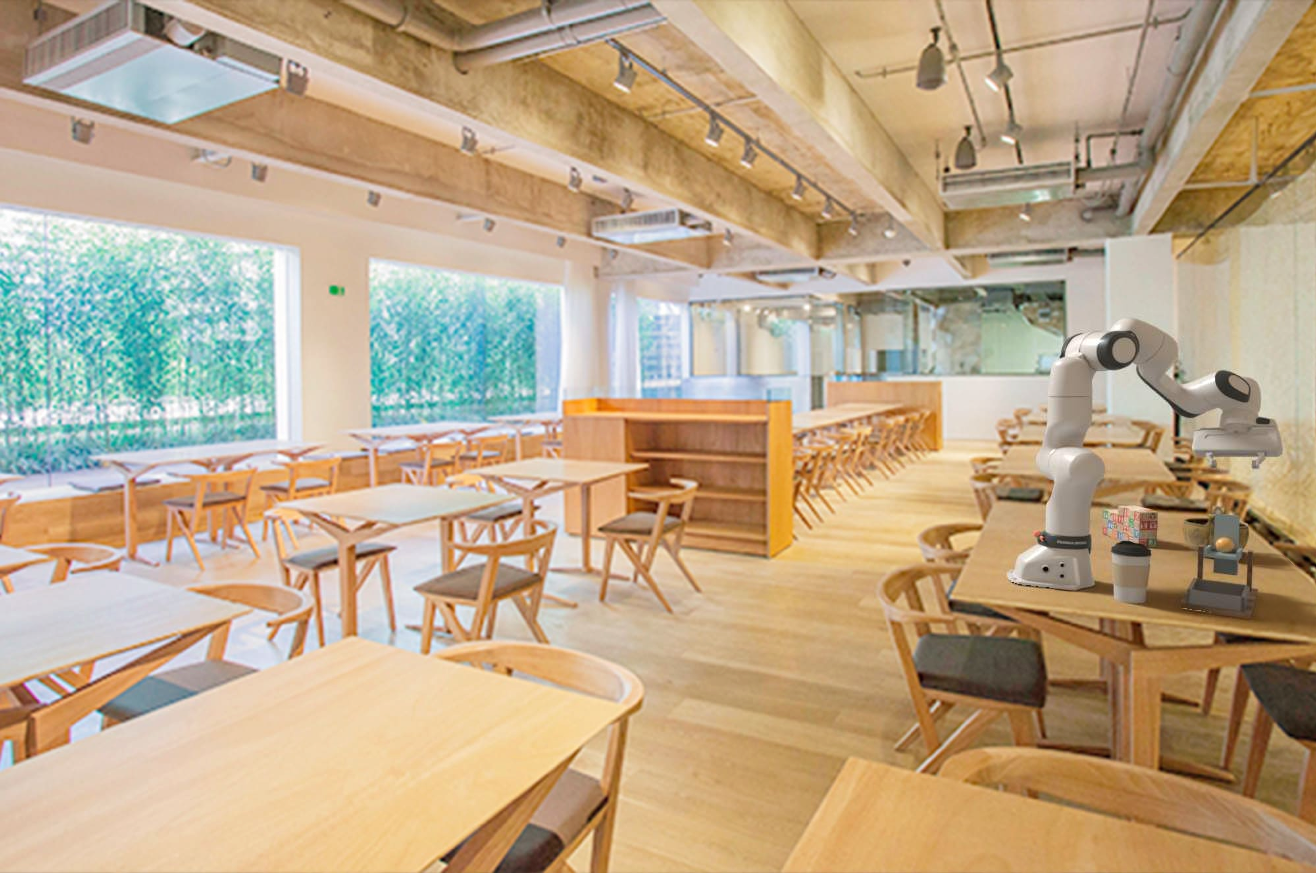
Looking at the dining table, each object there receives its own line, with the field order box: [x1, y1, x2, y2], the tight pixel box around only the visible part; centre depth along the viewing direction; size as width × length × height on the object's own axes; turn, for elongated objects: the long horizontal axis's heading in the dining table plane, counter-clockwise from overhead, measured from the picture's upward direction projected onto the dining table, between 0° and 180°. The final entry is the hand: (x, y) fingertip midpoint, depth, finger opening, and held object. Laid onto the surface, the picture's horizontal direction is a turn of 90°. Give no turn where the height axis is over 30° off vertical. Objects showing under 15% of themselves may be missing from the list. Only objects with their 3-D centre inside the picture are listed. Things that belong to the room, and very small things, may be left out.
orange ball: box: [1216, 538, 1234, 553], centre depth 202 cm, size 4×4×4 cm
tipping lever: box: [1204, 513, 1247, 576], centre depth 201 cm, size 18×9×16 cm, turn 139°
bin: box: [1186, 577, 1249, 612], centre depth 192 cm, size 14×12×4 cm
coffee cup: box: [1110, 541, 1152, 605], centre depth 199 cm, size 9×9×15 cm
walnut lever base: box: [1179, 545, 1259, 620], centre depth 196 cm, size 26×14×12 cm, turn 139°
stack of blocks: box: [1102, 505, 1159, 548], centre depth 267 cm, size 21×6×12 cm, turn 0°
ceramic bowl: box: [1182, 505, 1250, 553], centre depth 243 cm, size 22×17×15 cm
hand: (1233, 467), depth 210 cm, fingers open, 8 cm apart
